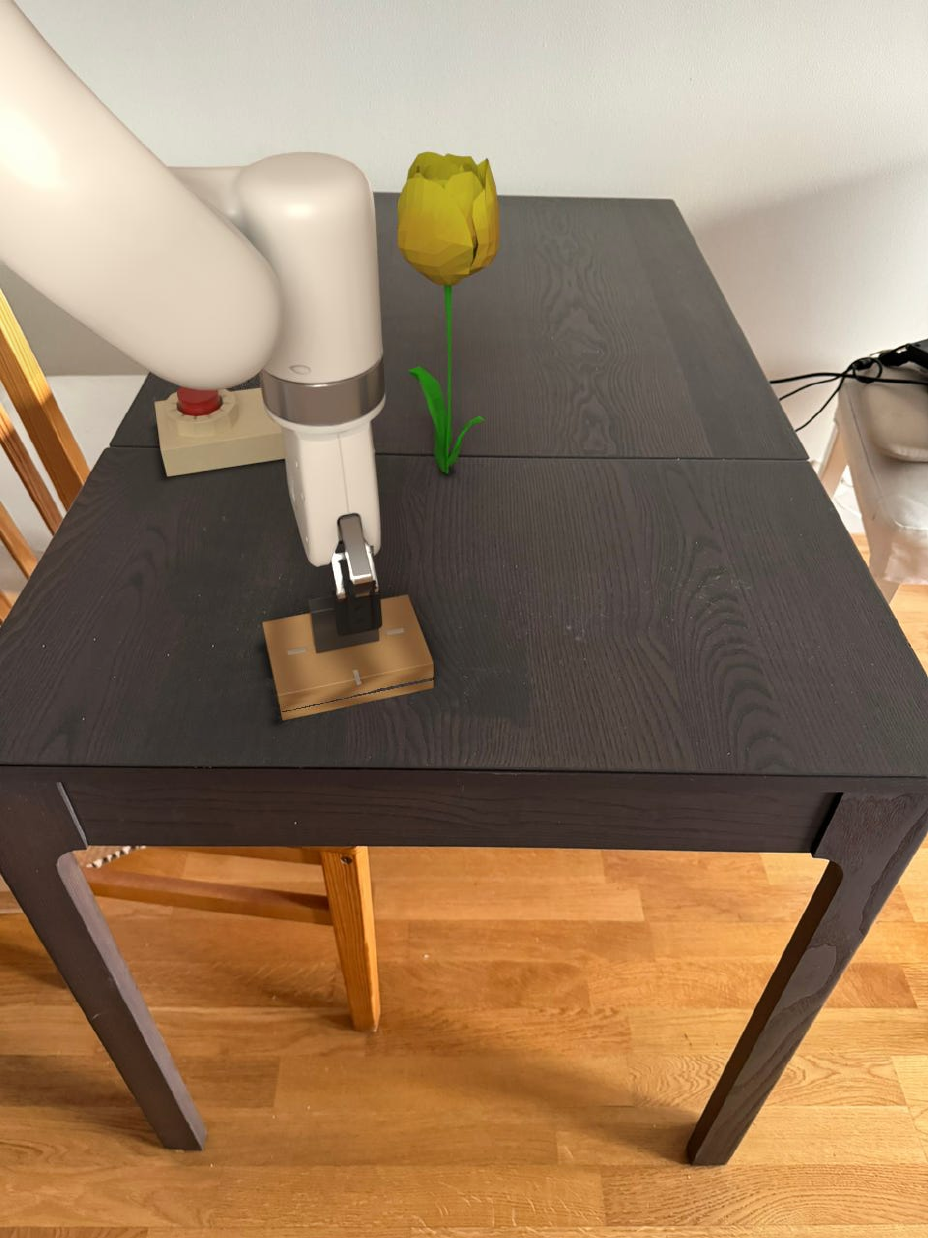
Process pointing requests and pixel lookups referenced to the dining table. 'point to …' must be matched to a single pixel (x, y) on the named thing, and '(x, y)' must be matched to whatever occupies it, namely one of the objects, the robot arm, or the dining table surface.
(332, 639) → the black block
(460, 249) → the flower
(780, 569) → the dining table surface
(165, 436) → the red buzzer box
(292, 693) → the dial panel
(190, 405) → the red button
